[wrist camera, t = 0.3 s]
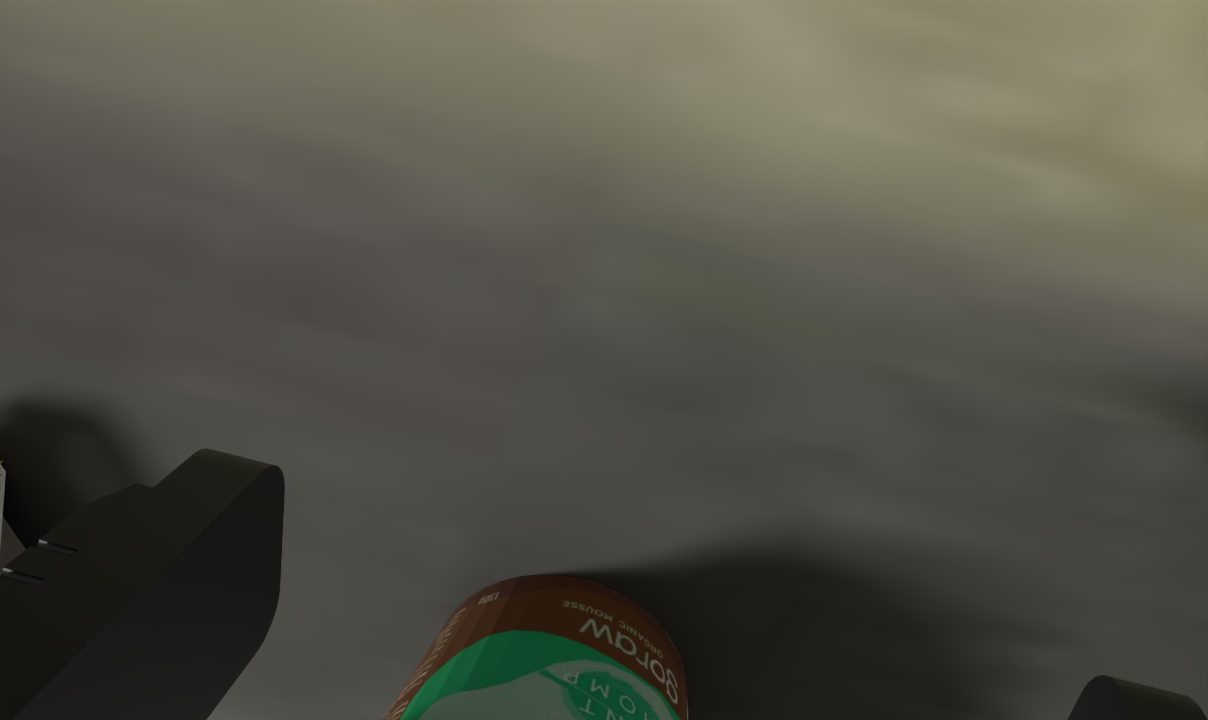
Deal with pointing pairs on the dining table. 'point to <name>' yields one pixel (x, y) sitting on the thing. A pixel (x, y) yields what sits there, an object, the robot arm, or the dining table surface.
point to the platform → (7, 532)
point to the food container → (547, 658)
